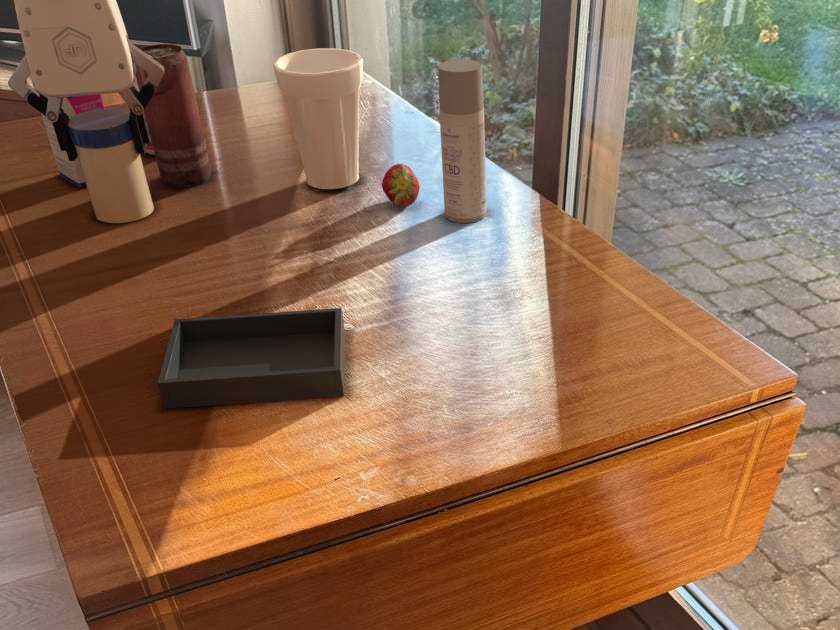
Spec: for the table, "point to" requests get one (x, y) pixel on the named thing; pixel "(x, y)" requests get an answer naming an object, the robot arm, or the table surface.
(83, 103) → the supplement box
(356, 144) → the cup
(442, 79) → the container
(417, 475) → the table surface
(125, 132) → the lid
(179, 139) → the can
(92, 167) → the jar
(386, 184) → the fruit
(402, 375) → the table surface
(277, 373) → the tray
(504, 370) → the table surface
